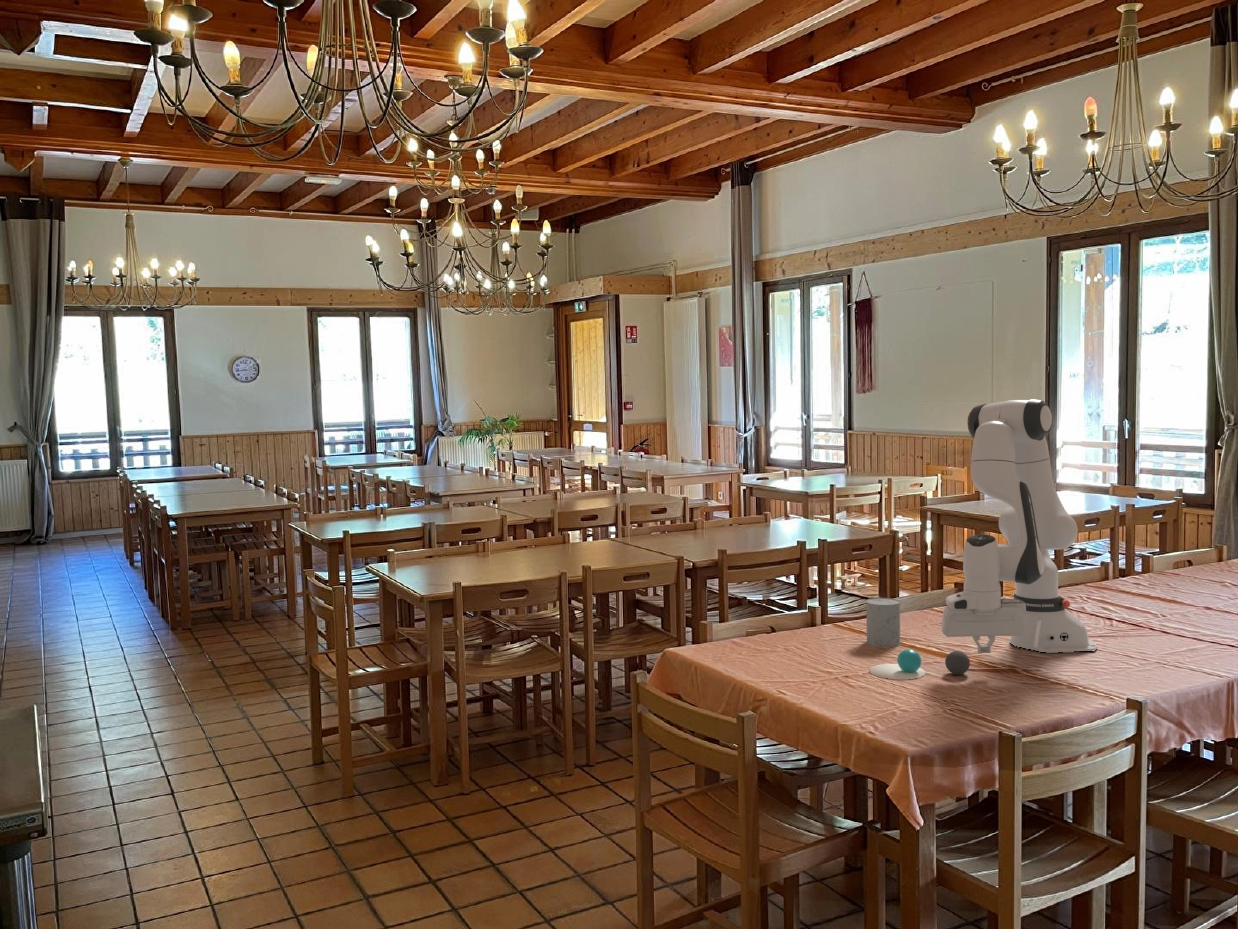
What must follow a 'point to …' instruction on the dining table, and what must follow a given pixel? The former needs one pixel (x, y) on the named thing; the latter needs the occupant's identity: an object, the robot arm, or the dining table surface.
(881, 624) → the grey speckled stone cylinder
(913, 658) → the object ball
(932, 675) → the dining table surface
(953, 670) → the dark grey ball
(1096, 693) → the dining table surface
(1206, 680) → the dining table surface
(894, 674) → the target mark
